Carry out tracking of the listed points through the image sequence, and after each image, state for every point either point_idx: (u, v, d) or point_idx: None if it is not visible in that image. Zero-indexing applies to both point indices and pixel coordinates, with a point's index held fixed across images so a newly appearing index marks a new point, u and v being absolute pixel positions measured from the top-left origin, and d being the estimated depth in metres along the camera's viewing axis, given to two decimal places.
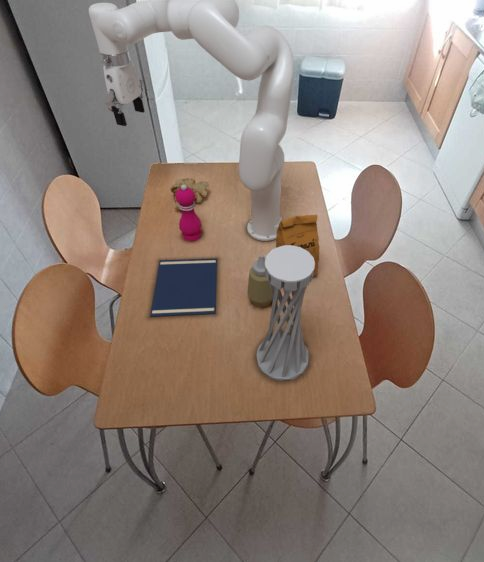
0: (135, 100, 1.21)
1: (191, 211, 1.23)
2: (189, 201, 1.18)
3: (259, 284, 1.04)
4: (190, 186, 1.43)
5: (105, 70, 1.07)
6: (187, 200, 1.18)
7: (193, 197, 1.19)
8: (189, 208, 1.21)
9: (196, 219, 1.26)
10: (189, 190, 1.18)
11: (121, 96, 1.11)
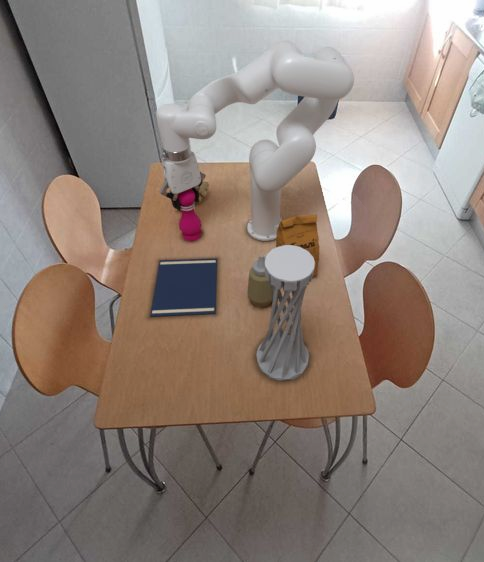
0: None
1: (191, 211, 1.23)
2: (189, 201, 1.18)
3: (259, 284, 1.04)
4: None
5: (163, 161, 1.09)
6: (187, 200, 1.18)
7: (193, 197, 1.19)
8: (189, 208, 1.21)
9: (196, 219, 1.26)
10: (189, 190, 1.18)
11: (172, 186, 1.12)
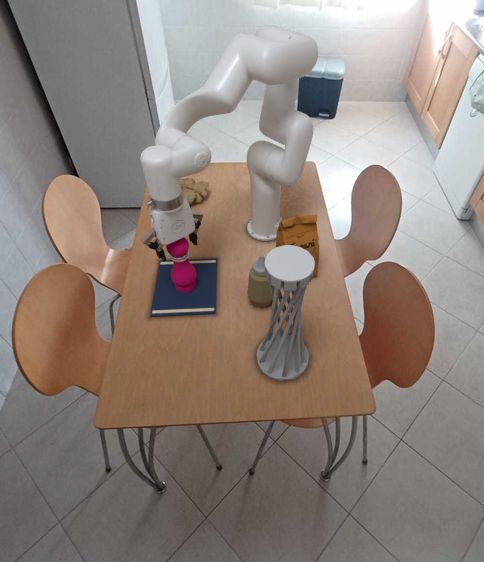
0: None
1: (184, 261, 1.07)
2: (182, 252, 1.03)
3: (259, 284, 1.04)
4: (190, 186, 1.43)
5: (150, 210, 0.93)
6: (179, 251, 1.02)
7: (186, 247, 1.04)
8: (182, 259, 1.05)
9: (190, 269, 1.10)
10: (182, 239, 1.03)
11: (161, 238, 0.96)
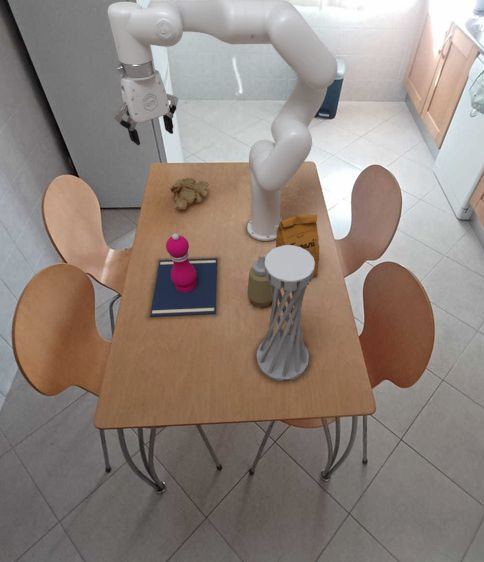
0: (165, 118, 1.03)
1: (184, 262, 1.07)
2: (182, 252, 1.03)
3: (259, 284, 1.04)
4: (190, 186, 1.43)
5: None
6: (179, 251, 1.02)
7: (186, 247, 1.04)
8: (182, 259, 1.05)
9: (190, 269, 1.10)
10: (182, 239, 1.03)
11: (133, 112, 0.93)
